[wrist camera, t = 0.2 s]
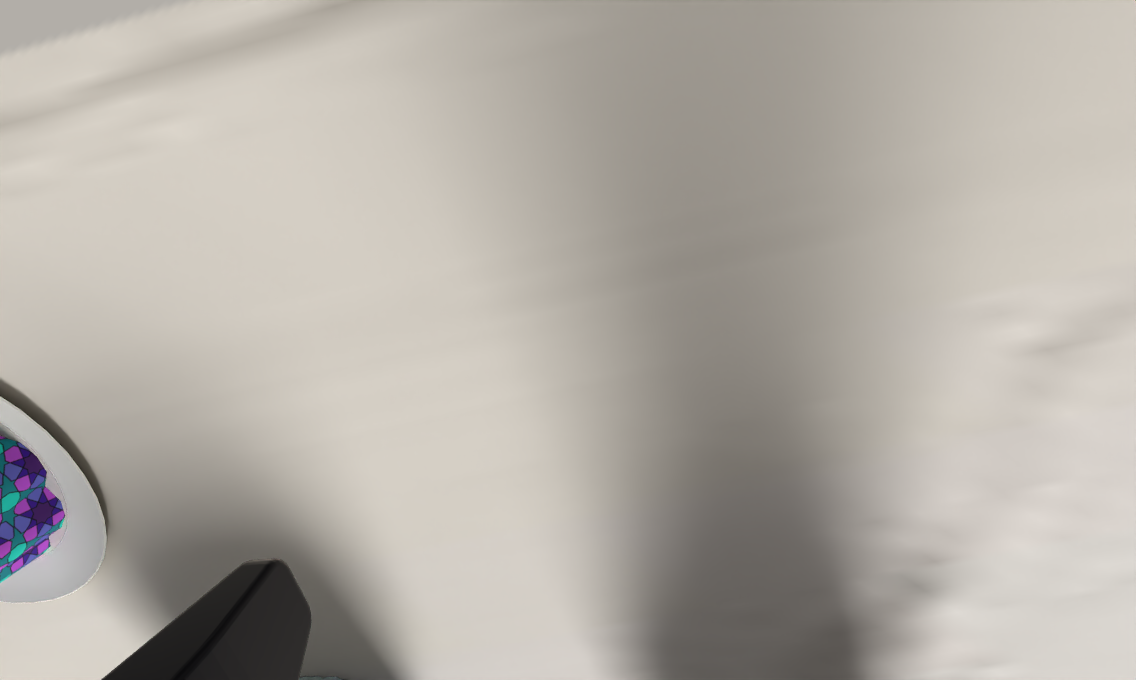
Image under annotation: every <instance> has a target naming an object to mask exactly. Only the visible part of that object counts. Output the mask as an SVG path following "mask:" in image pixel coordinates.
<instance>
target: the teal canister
mask: <svg viewBox="0 0 1136 680" xmlns="http://www.w3.org/2000/svg"><path fill="white" fill-rule="evenodd" d="M299 680H341V679H340V678H338V677H325V678H322V677H319V676H314V677H302V678H299Z"/></svg>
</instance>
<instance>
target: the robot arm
mask: <svg viewBox="0 0 1136 680" xmlns="http://www.w3.org/2000/svg"><path fill="white" fill-rule="evenodd" d="M310 628H311V612H310V608H309V605H308V602H307V601H306V599H305V597H304V595H303V593H302V591H301V589H300V587H299V585H298V583H297V582H296V580H295V578H294V576H293V574H292V572H291V570H290V568H289V567H288V565H287V564H286V563H285V562H284V561H282V560H281V559H277V558H274V559H260V560H251V561H247V562H245V563H243V564H242V565H240V566H239V567H238V568H237V569H235V570H234V571H233V572H232V573H231V574H229V575H228V576H227V577H226V578H224V579H223V580H222V581H221V582H220V583H218V584H217V585H216V586H215V587H214V588H212V589H211V590H210V591H209V592H207V593H206V594H205V595H204V596H203V597H201V598H200V599H199V600H198V601H196V602H195V603H194V604H193V605H192V606H190V607H189V608H188V609H187V610H186V611H184V612H183V613H182V614H181V615H179V616H178V617H177V618H176V619H175V620H173V621H172V622H171V623H170V624H168V625H167V626H166V627H165V628H164V629H162V630H161V631H160V632H159V633H158V634H156V635H155V636H154V637H153V638H151V639H150V640H149V641H148V642H147V643H145V644H144V645H143V646H142V647H140V648H139V649H138V650H137V651H136V652H134V653H133V654H132V655H131V656H129V657H128V658H127V659H126V660H125V661H123V662H122V663H121V664H120V665H118V666H117V667H116V668H115V669H114V670H112V671H111V672H110V673H109V674H108V675H106V676H105V677H104V678H103V679H101V680H299V677H300V673H301V668H302V664H303V659H304V655H305V651H306V646H307V642H308V638H309V633H310Z"/></svg>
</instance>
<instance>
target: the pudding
mask: <svg viewBox="0 0 1136 680" xmlns="http://www.w3.org/2000/svg"><path fill="white" fill-rule="evenodd" d="M0 423H1V424H3V425H5V426H6V427H7V428H9V429H10V430H11V431H12V432H14V433H15V434H16V435H17V436H19V437H20V438H21V439H22V440H24V441H25V442H26V443H27V444H28V445H29V446H30V447H31V448H32V449H33V450H34V451H35V452H36V453H37V454H38V455H39V457H40V458H41V459H42V460H43V462H44V463H45V464H46V466H47V467H48V468H49V469H50V471H51V472H52V474H53V476H54V477H55V479H56V481H57V483H58V484H59V486H60V488H61V491H62V494H63V497H64V499H65V502H66V508H67V515H68V518H67V528H66V531H65V534H64V536H63V539H62V540H61V542H60V543H59V544H58V545H57V547H56V548H55V549H54V550H52V551H51V552H50V553H48V554H47V555H45V556H43V557H41V558H38V557H39V556H41V555H42V554H43V553H44V552H45V551H46V550H47V549H48V548H49V547H50V542H49V537H48V536H49V535H51V534H52V533H54V532H55V531H57V530H58V529H59V528H61V527H62V524H63V521H64V517H65V514H64V511H63V507H62V504H61V501H60V500H59V499H58V498H57V497H55V496H54V495H53V494H52V493H51V492H50V491H49V490H48V489H47V488H46V487H45V481H46V474H47V472H46V470H45V469H44V467H43V466H42V464H41V463H40V461H39V459H38V458H37V457H36V456H35V455H34V454H33V453H32V452H31V451H29V450H28V449H27V448H26V447H25V446H24V445H22V444H21V443H19V442H16V441H13V440H10V439H7V438H4V437H1V436H0V602H7V603H38V602H44V601H51V600H56V599H58V598H61V597H64V596H67V595H70V594H72V593H74V592H75V591H77V590H79V589H80V588H82V587H83V586H85V585H86V584H87V583H88V582H89V581H90V580H91V579H92V578H93V577H94V575H95V574H96V573H97V572H98V570H99V568H100V566H101V563H102V561H103V559H104V557H105V549H106V542H107V536H106V527H105V519H104V516H103V513H102V510H101V507H100V505H99V502H98V499H97V497H96V495H95V493H94V491H93V489H92V487H91V486H90V484H89V482H88V480H87V478H86V477H85V475H84V474H83V472H82V471H81V470H80V468H79V467H78V466H77V464H76V463H75V462H74V460H73V459H72V458H71V456H70V455H69V454H68V452H67V451H66V450H65V449H64V448H63V447H62V446H61V445H60V444H59V443H58V442H57V441H56V440H55V439H54V438H53V437H52V436H51V435H50V434H49V433H48V432H47V431H46V430H45V429H44V428H42V427H41V426H40V425H39V424H38V423H36V422H35V421H34V420H33V419H31V418H30V417H29V416H28V415H27V414H25V413H24V412H23V411H22V410H20V409H19V408H17V407H16V406H14V405H13V404H11V403H10V402H8V401H7V400H5V399H4V398H2V397H0ZM36 558H38V559H36Z"/></svg>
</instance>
